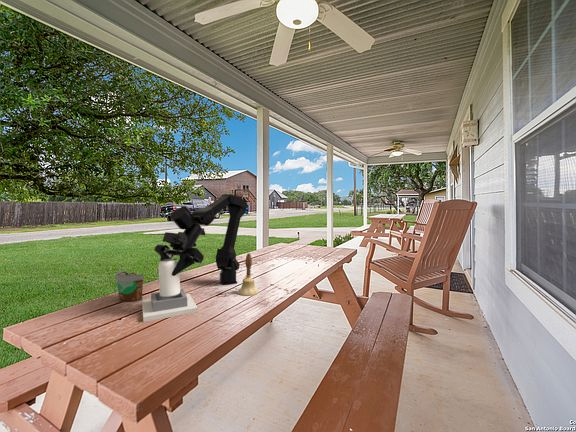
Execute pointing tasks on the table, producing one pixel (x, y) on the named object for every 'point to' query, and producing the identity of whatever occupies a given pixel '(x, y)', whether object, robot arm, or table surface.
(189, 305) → the socket board
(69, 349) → the table surface
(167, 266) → the can
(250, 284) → the hand bell
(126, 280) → the food container
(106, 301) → the table surface
